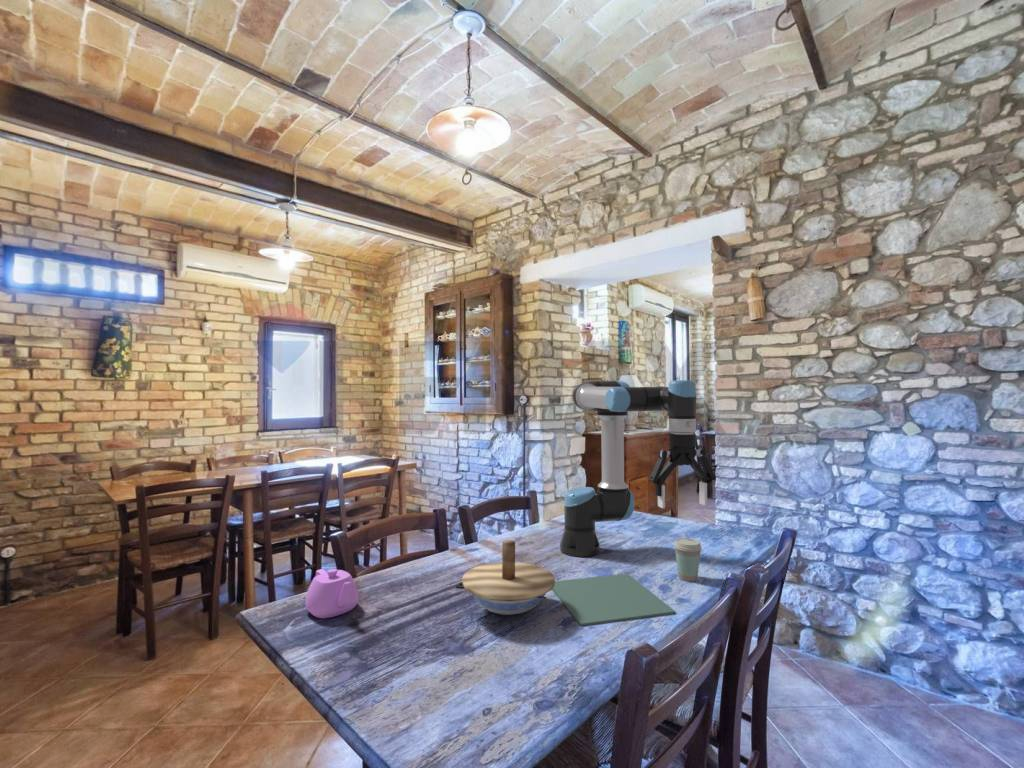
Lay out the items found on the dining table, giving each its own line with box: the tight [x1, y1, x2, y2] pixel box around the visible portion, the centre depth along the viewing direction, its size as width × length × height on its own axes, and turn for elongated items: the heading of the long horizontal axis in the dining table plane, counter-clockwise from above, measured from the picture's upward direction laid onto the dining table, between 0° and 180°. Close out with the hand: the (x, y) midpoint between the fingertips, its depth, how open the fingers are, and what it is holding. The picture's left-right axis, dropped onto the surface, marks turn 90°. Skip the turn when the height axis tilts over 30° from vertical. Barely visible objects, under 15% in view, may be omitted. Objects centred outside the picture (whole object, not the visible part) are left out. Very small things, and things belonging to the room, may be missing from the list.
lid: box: [461, 539, 556, 600], centre depth 138 cm, size 26×26×11 cm
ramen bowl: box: [455, 582, 547, 616], centre depth 138 cm, size 25×23×8 cm
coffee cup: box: [673, 537, 702, 583], centre depth 160 cm, size 8×8×12 cm
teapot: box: [305, 568, 360, 619], centre depth 138 cm, size 13×20×11 cm
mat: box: [551, 573, 676, 627], centre depth 145 cm, size 28×28×1 cm
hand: (682, 505), depth 142 cm, fingers open, 13 cm apart
